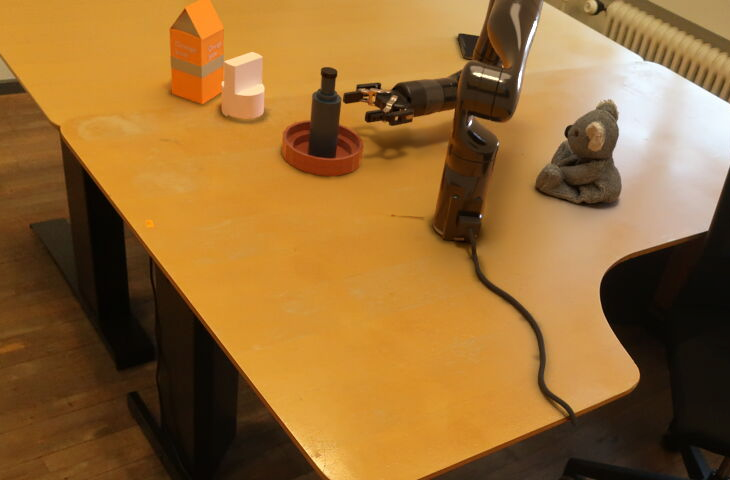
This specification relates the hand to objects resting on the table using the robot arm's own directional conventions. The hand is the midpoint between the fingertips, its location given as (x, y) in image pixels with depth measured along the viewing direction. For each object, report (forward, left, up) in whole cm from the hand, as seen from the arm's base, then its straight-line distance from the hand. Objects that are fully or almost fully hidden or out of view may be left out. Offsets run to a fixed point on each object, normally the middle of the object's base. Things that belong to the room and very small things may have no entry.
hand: (354, 107), depth 172 cm
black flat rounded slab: (+66, -37, -10) cm, 77 cm away
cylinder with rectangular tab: (+14, +23, -11) cm, 29 cm away
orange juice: (+21, +33, -11) cm, 40 cm away
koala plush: (-5, -51, -11) cm, 52 cm away
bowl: (-3, +6, -11) cm, 13 cm away
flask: (-3, +6, -10) cm, 12 cm away
